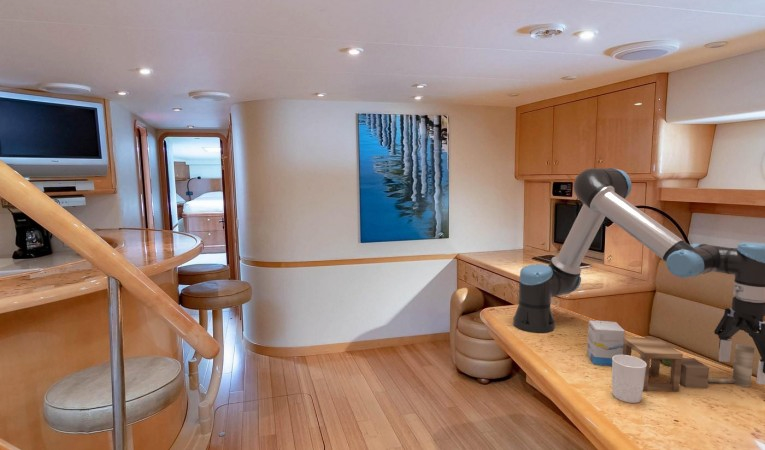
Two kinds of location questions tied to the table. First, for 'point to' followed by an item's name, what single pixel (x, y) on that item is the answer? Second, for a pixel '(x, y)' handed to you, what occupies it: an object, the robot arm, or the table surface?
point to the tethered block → (697, 377)
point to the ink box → (604, 342)
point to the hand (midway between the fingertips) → (742, 371)
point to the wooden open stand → (656, 361)
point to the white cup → (628, 378)
